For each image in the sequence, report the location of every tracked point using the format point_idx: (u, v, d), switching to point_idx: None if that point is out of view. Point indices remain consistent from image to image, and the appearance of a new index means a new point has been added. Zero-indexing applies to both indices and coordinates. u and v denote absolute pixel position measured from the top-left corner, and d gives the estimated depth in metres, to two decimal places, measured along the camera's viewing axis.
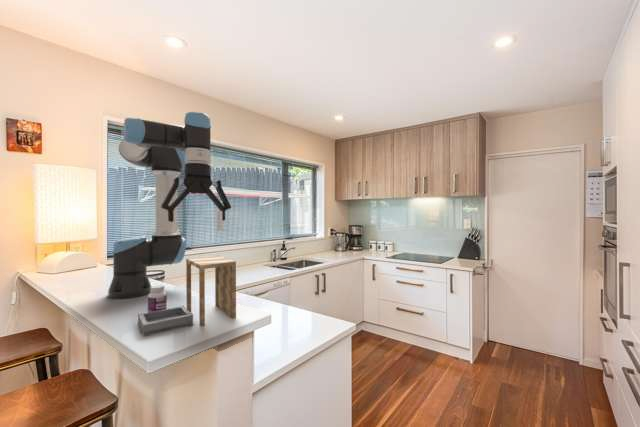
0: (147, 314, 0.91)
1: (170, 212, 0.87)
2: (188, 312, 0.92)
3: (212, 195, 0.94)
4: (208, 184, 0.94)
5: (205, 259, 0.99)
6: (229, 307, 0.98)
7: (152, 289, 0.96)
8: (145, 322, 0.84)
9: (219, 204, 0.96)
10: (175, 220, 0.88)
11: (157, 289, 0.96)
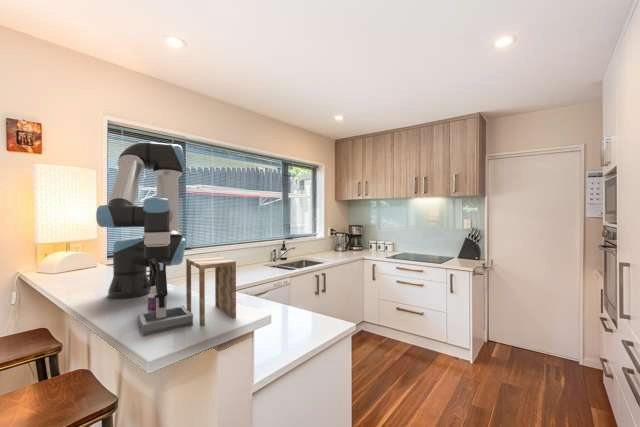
0: (147, 314, 0.91)
1: None
2: (188, 312, 0.92)
3: (155, 278, 0.93)
4: (155, 266, 0.94)
5: (205, 259, 0.99)
6: (229, 307, 0.98)
7: (152, 289, 0.96)
8: (145, 322, 0.84)
9: (156, 289, 0.92)
10: None
11: None
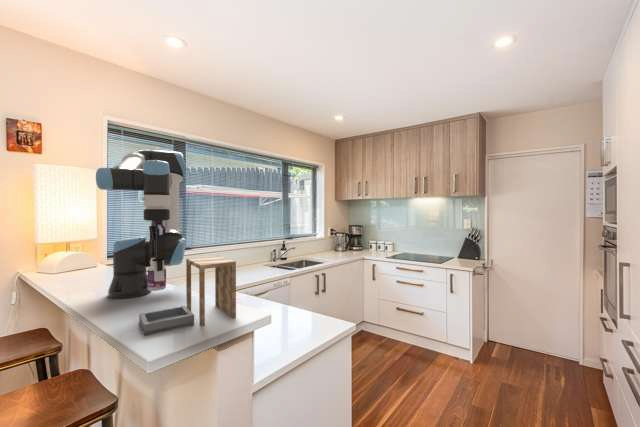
0: (148, 314, 0.91)
1: (152, 258, 1.01)
2: (189, 312, 0.92)
3: (154, 241, 0.95)
4: (154, 228, 0.95)
5: (205, 259, 0.99)
6: (229, 307, 0.98)
7: (152, 262, 0.96)
8: (146, 322, 0.84)
9: (154, 252, 0.94)
10: None
11: None
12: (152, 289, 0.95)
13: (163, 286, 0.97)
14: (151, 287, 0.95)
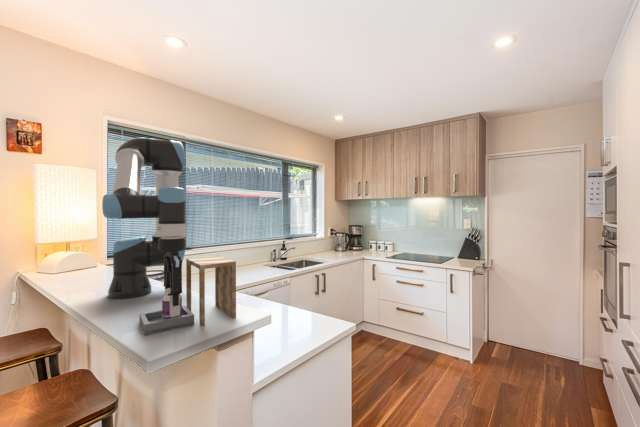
0: (148, 314, 0.91)
1: None
2: (189, 312, 0.92)
3: (169, 274, 0.88)
4: (170, 259, 0.88)
5: (205, 259, 0.99)
6: (229, 307, 0.98)
7: (167, 292, 0.89)
8: (146, 322, 0.84)
9: (170, 286, 0.88)
10: None
11: None
12: None
13: None
14: None
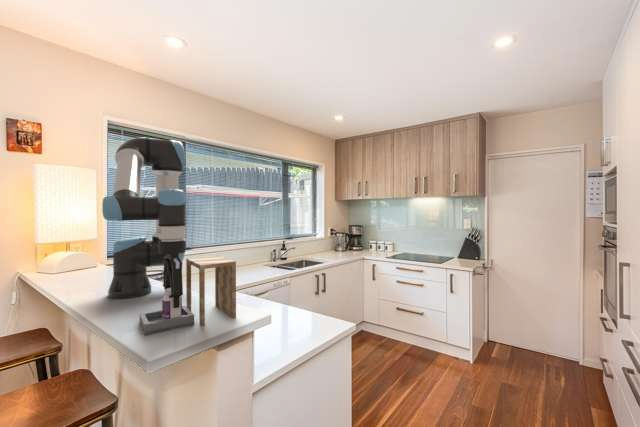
0: (148, 314, 0.91)
1: None
2: (189, 312, 0.92)
3: (170, 276, 0.88)
4: (170, 262, 0.88)
5: (205, 259, 0.99)
6: (229, 307, 0.98)
7: (167, 291, 0.89)
8: (146, 322, 0.84)
9: (171, 288, 0.87)
10: None
11: None
12: None
13: None
14: None
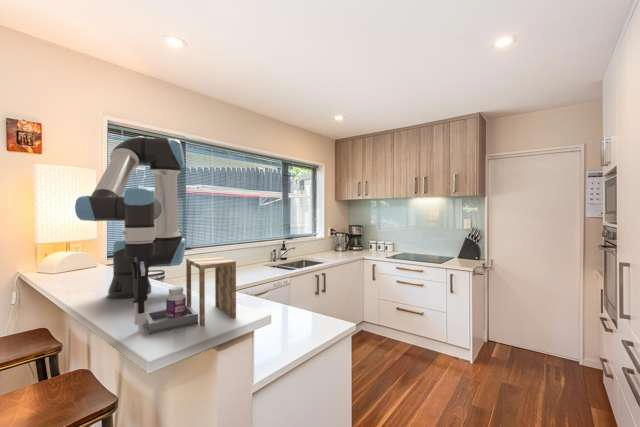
0: (152, 313, 0.92)
1: None
2: (193, 311, 0.92)
3: (135, 280, 0.84)
4: (136, 264, 0.83)
5: (205, 259, 0.99)
6: (229, 307, 0.98)
7: (171, 291, 0.90)
8: (151, 321, 0.85)
9: (135, 293, 0.84)
10: None
11: (176, 291, 0.90)
12: None
13: None
14: None
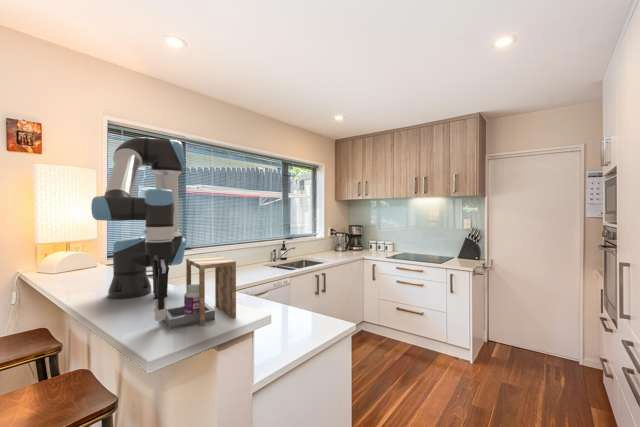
0: (171, 310, 0.95)
1: None
2: (210, 308, 0.96)
3: (156, 278, 0.87)
4: (157, 262, 0.86)
5: (205, 259, 0.99)
6: (229, 307, 0.98)
7: (189, 288, 0.93)
8: (171, 317, 0.88)
9: (156, 290, 0.88)
10: None
11: (194, 288, 0.93)
12: None
13: None
14: None
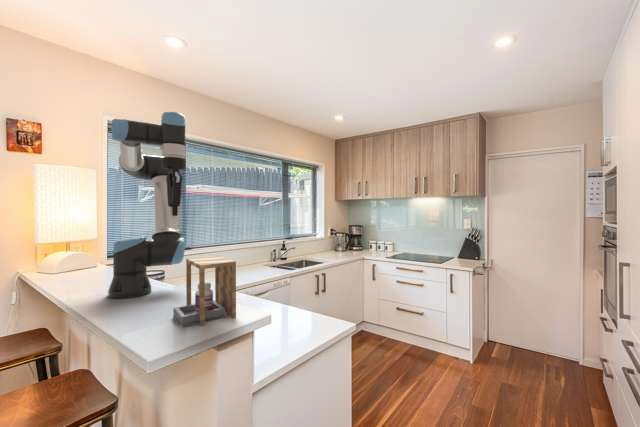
0: (182, 307, 0.97)
1: None
2: (220, 306, 0.98)
3: (170, 188, 1.02)
4: (172, 174, 1.01)
5: (205, 259, 0.99)
6: (229, 307, 0.98)
7: None
8: (183, 314, 0.90)
9: (170, 198, 1.02)
10: (169, 214, 1.04)
11: (205, 286, 0.95)
12: None
13: None
14: None
